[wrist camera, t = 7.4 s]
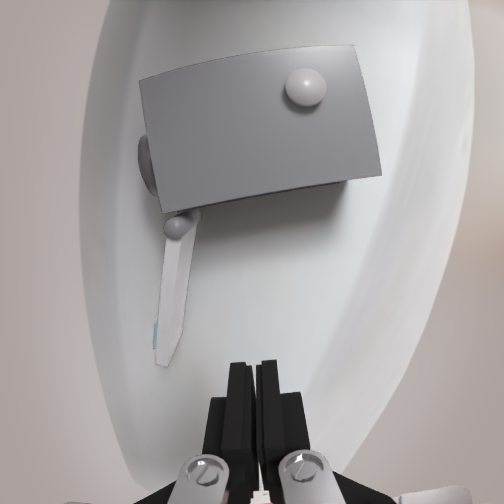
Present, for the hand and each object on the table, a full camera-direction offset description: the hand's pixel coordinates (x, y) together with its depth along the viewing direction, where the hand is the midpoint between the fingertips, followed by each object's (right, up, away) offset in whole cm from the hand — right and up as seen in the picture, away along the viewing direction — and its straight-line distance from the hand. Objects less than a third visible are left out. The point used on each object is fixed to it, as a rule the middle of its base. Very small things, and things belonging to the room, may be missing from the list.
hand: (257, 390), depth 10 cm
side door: (-6, +3, +15) cm, 17 cm away
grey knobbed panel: (0, +15, +13) cm, 20 cm away
